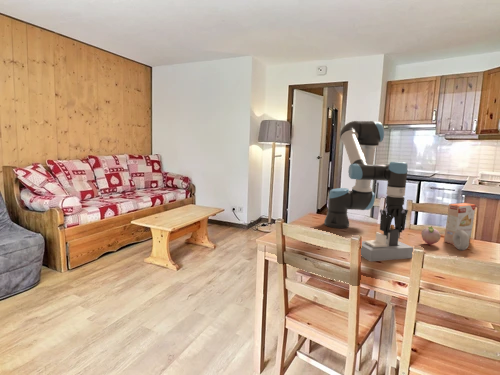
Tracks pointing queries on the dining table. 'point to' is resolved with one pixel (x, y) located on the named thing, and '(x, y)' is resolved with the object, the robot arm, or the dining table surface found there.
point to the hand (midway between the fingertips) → (390, 245)
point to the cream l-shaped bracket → (378, 241)
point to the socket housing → (386, 252)
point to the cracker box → (459, 220)
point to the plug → (393, 236)
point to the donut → (461, 240)
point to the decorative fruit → (430, 235)
